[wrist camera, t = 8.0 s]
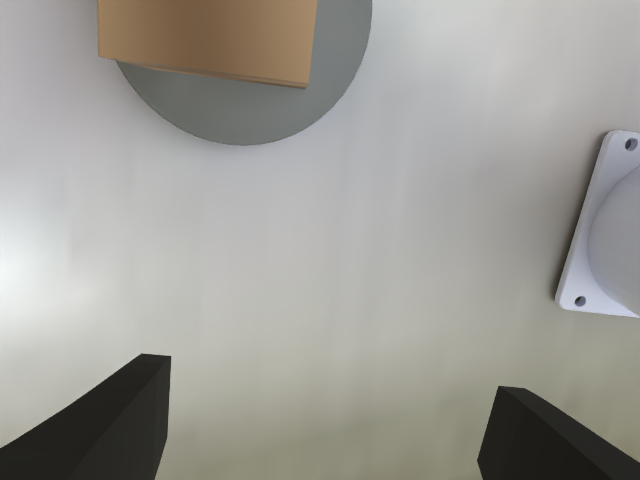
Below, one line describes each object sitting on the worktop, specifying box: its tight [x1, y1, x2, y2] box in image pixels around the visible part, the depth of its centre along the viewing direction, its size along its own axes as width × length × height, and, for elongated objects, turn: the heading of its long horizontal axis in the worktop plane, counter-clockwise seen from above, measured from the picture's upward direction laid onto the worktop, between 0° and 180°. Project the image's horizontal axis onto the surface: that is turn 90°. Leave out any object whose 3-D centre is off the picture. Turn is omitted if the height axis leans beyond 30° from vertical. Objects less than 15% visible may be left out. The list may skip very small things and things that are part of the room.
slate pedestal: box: [116, 0, 372, 145], centre depth 16 cm, size 9×9×2 cm
